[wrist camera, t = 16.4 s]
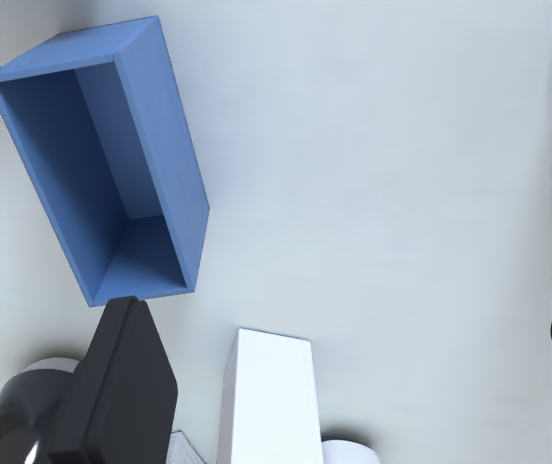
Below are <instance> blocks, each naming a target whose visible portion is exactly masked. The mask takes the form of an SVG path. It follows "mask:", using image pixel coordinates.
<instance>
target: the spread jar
mask: <svg viewBox="0 0 552 464" xmlns="http://www.w3.org/2000/svg"><path fill="white" fill-rule="evenodd" d="M321 444H322V453H323V463H324V464H381V463H380V460H379V457H378V455H377V453H376V452H375V451H374V450H373V449H372V448H371V447H369V446H368V445H366V444H365V443H363V442H361V441H359V440H357V439H354V438H351V437H347V436H342V435H332V436H326V437H322V438H321Z"/></svg>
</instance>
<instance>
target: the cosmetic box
mask: <svg viewBox="0 0 552 464" xmlns="http://www.w3.org/2000/svg"><path fill="white" fill-rule="evenodd" d="M166 464H205V463H204V462H203V461H202V460H201V458H200V457H199V456H198V455H197V453H196V452H195V451H194V449H193V448H192V446H191V445H190V444H189V442H188V441H187V439H186V438H185V436H184V434H183V433H182V432H176V433H172V434H171V436H170V442H169V447H168V453H167V459H166Z"/></svg>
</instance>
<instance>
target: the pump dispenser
mask: <svg viewBox="0 0 552 464" xmlns="http://www.w3.org/2000/svg"><path fill="white" fill-rule="evenodd" d="M79 362H80V361H78V360H75V359H71V358H64V357H54V358H47V359H43V360H40V361H37V362H35V363H33V364H31V365H29V366H27V367H26V368H24V369H23V370H22V371H21V372H19V373H18V374H17V375H16V376H14V377H13V378H11V379H10V380H9V381H8V382H7V383H6V384H5V385H4V387H3V388H2V390H1V392H0V464H35V463H36V460H37V458H38V456H39V453H40V451H41V448H42V446H43V444H44V441H45V439H46V436H47V434H48V431H49V429H50V427H51V424H52V422H53V419H54V417H55V415H56V412H57V410H58V407H59V405H60V403H61V400H62V398H63V395H64V393H65V391H66V388H67V386H68V383H69V381H70V379H71V376H72V374H73V371H74V369H75V367H76V366H77V364H78V363H79Z"/></svg>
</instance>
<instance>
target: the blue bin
mask: <svg viewBox="0 0 552 464" xmlns="http://www.w3.org/2000/svg"><path fill="white" fill-rule="evenodd" d="M0 113H1V116H2V118H3V120H4V122H5V124H6V126H7V129H8V131H9V133H10V135H11V137H12V140H13V142H14V144H15V146H16V148H17V151H18V153H19V155H20V157H21V159H22V162H23V164H24V166H25V168H26V170H27V172H28V175H29V177H30V179H31V181H32V183H33V186H34V188H35V190H36V192H37V194H38V197H39V199H40V201H41V203H42V205H43V207H44V210H45V212H46V214H47V216H48V218H49V221H50V223H51V225H52V227H53V229H54V232H55V234H56V236H57V238H58V240H59V242H60V245H61V247H62V249H63V251H64V253H65V256H66V258H67V260H68V262H69V264H70V267H71V269H72V271H73V273H74V275H75V278H76V280H77V282H78V284H79V286H80V288H81V291H82V293H83V295H84V297H85V299H86V302H87V304H88V306H89V307H96V306H103V305H106V304H107V302H108V301H109V300H110V299H112V298H119V297H126V296H133V295H134V296H136V297H137V298H138V300H144V299H151V298H157V297H164V296H171V295H178V294H185V293H188V292H189V293H192V292H195V287H196V281H197V276H198V270H199V265H200V259H201V254H202V248H203V243H204V237H205V232H206V226H207V221H208V215H209V210H210V208H209V204H208V201H207V197H206V193H205V189H204V186H203V182H202V178H201V174H200V171H199V167H198V163H197V159H196V155H195V152H194V148H193V144H192V140H191V137H190V133H189V129H188V125H187V122H186V118H185V114H184V110H183V107H182V103H181V99H180V95H179V92H178V88H177V84H176V80H175V77H174V73H173V69H172V65H171V62H170V58H169V54H168V50H167V47H166V43H165V39H164V35H163V32H162V28H161V24H160V20H159V17H158V16H152V17H147V18H141V19H136V20H130V21H125V22H120V23H114V24H109V25H103V26H98V27H92V28H87V29H82V30H76V31H71V32H65V33H60V34H57V35H55V36H54V37H52V38H50V39H49V40H47V41H45V42H43V43H42V44H40V45H38V46H36V47H35V48H33V49H31V50H30V51H28V52H26V53H24V54H23V55H21V56H19V57H17V58H16V59H14V60H12V61H10V62H9V63H7V64H5V65H4V66H2V67H0Z"/></svg>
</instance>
